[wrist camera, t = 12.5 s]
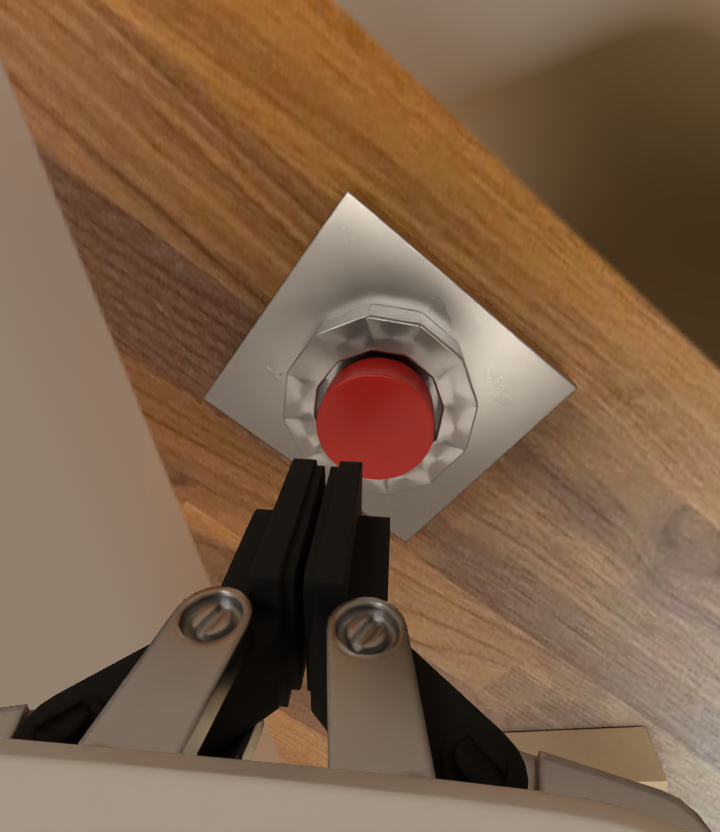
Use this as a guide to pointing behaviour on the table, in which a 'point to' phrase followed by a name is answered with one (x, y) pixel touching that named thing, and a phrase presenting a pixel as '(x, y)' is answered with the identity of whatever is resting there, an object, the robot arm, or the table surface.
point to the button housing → (394, 339)
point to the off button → (377, 418)
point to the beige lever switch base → (600, 751)
